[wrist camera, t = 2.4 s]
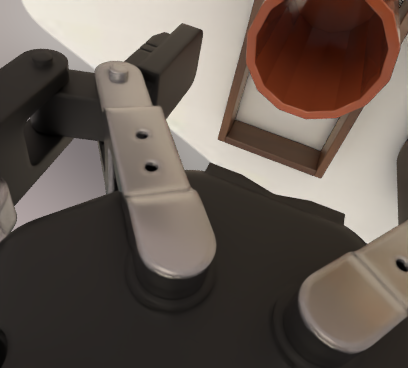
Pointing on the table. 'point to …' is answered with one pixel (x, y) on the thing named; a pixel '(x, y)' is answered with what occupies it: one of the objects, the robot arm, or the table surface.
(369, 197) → the table surface
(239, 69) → the wooden divided tray
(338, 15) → the cup
